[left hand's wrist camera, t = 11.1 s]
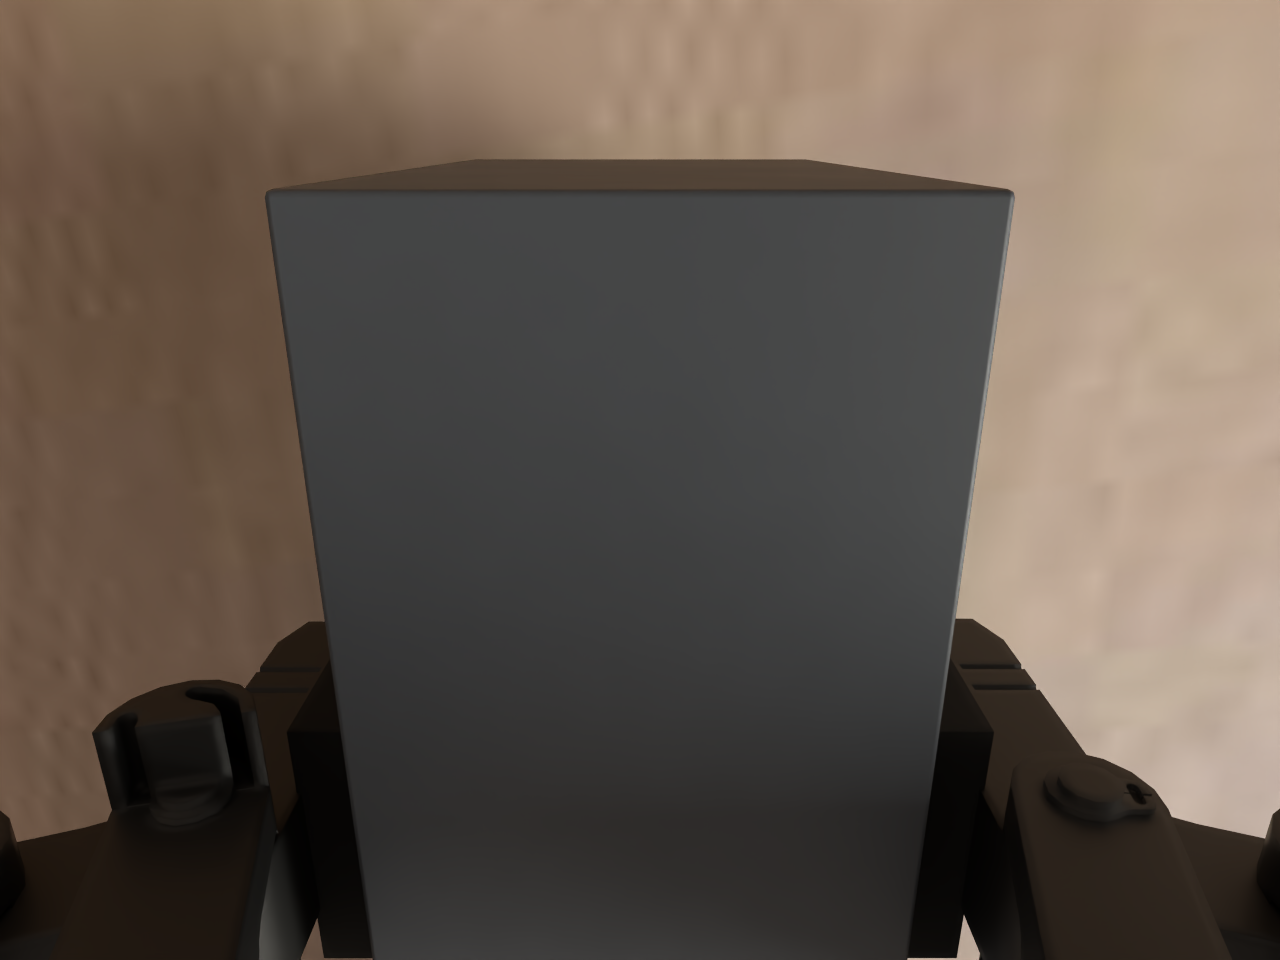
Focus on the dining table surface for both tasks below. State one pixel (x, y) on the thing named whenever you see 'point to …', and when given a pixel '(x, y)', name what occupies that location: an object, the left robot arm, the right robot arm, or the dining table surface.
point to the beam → (639, 541)
